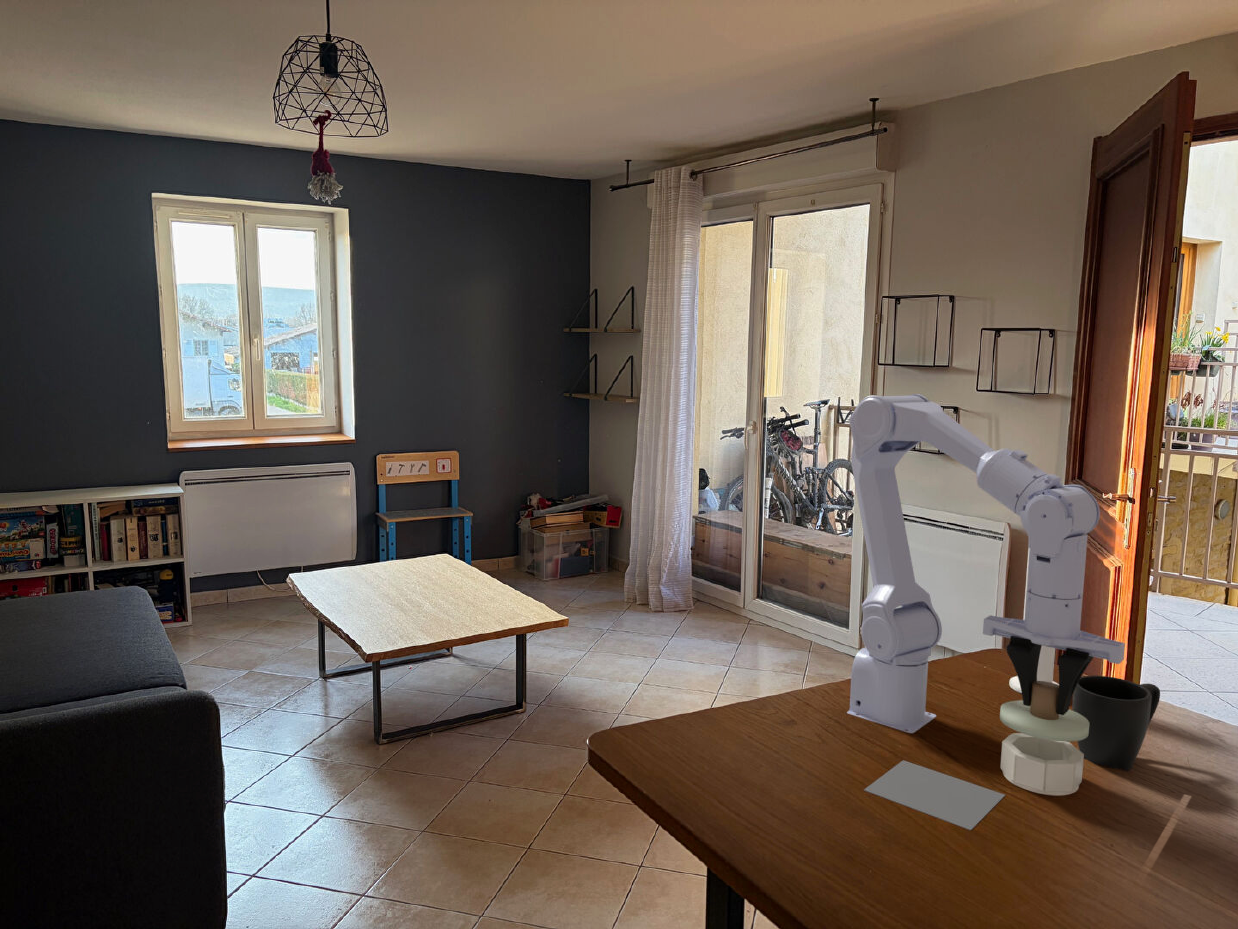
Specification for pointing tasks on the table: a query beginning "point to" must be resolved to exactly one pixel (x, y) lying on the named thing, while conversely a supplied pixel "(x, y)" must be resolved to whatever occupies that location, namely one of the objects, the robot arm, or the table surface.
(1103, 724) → the mug
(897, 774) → the mat
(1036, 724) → the lid
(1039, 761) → the bowl
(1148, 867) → the table surface
